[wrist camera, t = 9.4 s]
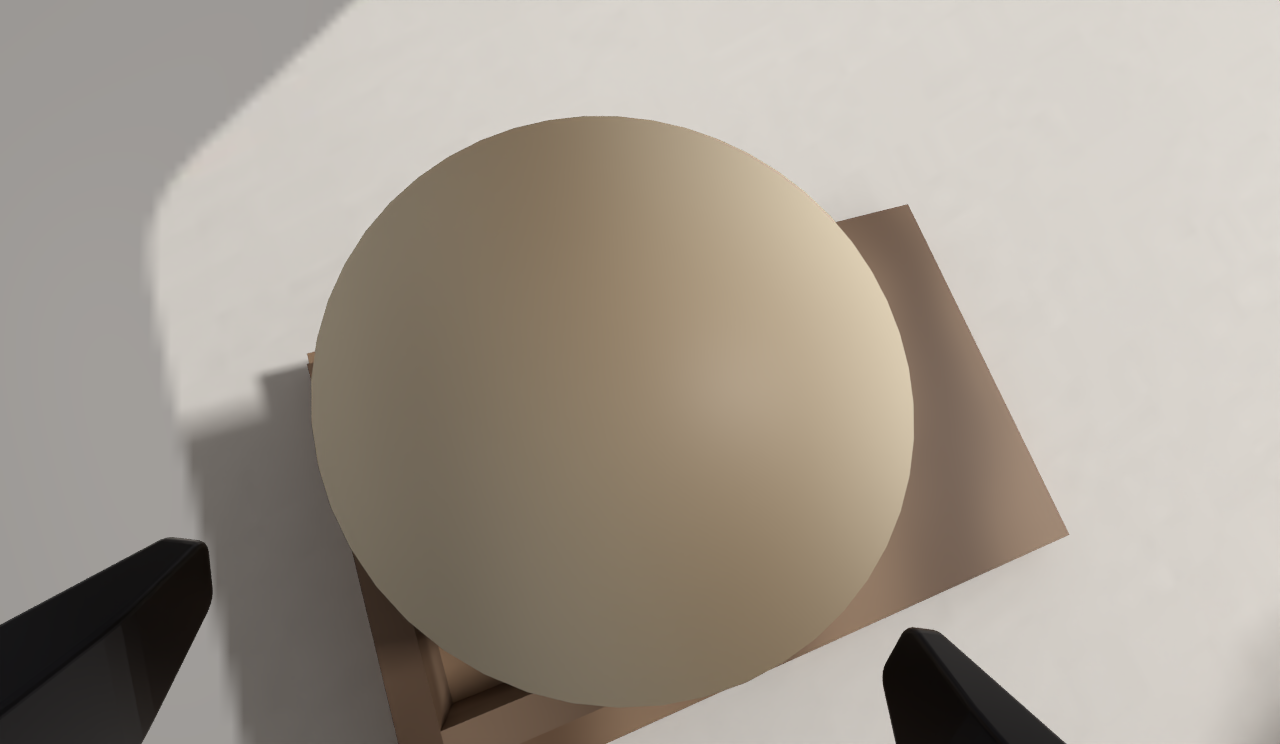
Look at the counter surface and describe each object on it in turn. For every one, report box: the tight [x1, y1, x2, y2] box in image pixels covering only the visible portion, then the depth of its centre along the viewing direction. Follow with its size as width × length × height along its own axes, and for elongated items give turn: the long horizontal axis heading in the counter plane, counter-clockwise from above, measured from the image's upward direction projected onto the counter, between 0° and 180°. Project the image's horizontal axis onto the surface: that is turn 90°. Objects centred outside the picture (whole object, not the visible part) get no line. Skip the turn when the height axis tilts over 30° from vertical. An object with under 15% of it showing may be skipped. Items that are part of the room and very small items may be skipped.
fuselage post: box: [311, 116, 914, 708], centre depth 11 cm, size 5×5×13 cm
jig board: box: [307, 204, 1069, 744], centre depth 18 cm, size 20×12×4 cm, turn 110°
